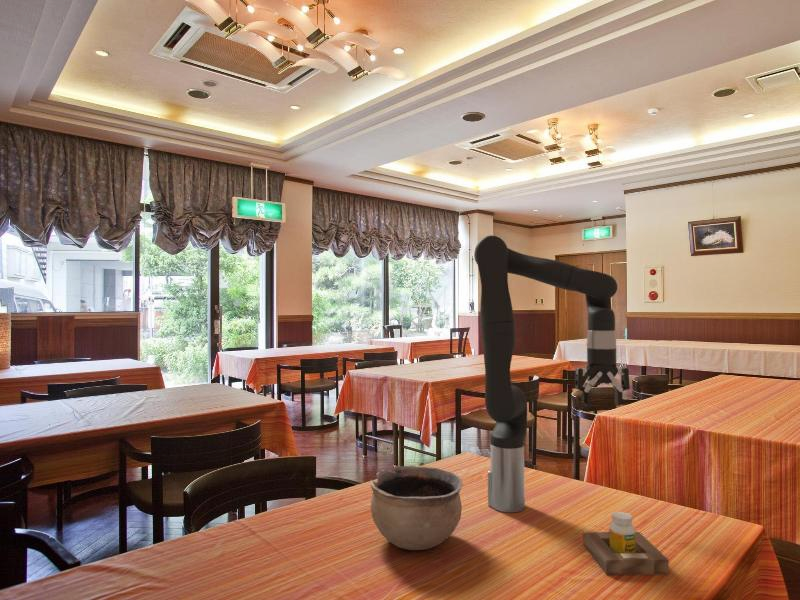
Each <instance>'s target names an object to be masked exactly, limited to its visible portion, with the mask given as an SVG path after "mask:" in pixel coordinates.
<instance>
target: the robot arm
mask: <svg viewBox="0 0 800 600" xmlns="http://www.w3.org/2000/svg"><path fill="white" fill-rule="evenodd" d="M473 258H474V260H475V263H476V264H477V268H478V272H479V280H480V287H481V288H480V289H481V291H480V293H481V295H480V306H479V309H480V313H479V314H480V329H481V339H482V340H481V341H482V348H483V359H484V376H485V378H484V379H485V380H484V384H485V386H484V404H485V405H484V406H485V410H486V412H487V414H488V416H489V418H491V420H493V421H494V422H495V426H494V428H493V430H492V431H491V433H490V438H489V439H490V448H489V449H490V469H489V470H488V472H487V506H489V507H491V508H493V509H494V510H497V511H498V512H503V513H518V512H521V511H523V510H525V508H526V507H525V506H526V505H525V504H526V503H525V502H526V497H525V495H526V494H525V493H526V492H525V491H526V489H525V486H526V485H525V439H526V436H527V435H526V434H527V427H528V402H527V397H526V395H525V393H524V391H523V389H521V388H520V387H518V386H516V385H512V381H511V380H512V379H511V364H512V359H513V354H514V351H515V346H516V345H515V344H516V329H515V327H516V326H515V318H514V311H513V310H514V309H513V305H512V299H511V294H510V293H511V292H510V287H509V281H508V279H509V277H508V276H509V275H508V274H510V275H511V274H512V275H517V276H519V277H520V276H521V277H524V278H527V279H531V280H534V281H537V282H539V283H540V282H541V283H543V284H547V285H549V286H552V287H555V288H559V289H562V290H566V291H571V292H578V293H580V294H584V296H585V303H586V308H587V336H586V360H587V361H586V363H587V366H586V368H584V367H583V368H582V367H576V368H575V375H574V388H575V390H578V391H580V392H581V402H582V404H584V405H583V406H586V407H589V406H590V392H589V391H590V390H591V389H592V387H595V386H594V385H601V384H602V385H603V384H606V385H611V386H612V387H613V389H614V391H613V392H614V405H615V406H617V407H620V406H621V404H622V405H623V392H624V391H628V390H630V388H631V387H630V373H629V371H630V370H629V368H628V367H625V366H621V367H617V335H616V317H615V312H614V311H613V308H612V297H614V296H615V294H616V293H617V291H618V283H617V281H616V279H615V278H614V277H613V276H611V275H610V274H607V273H604V272H600V271H596V270H591V269H585V268H581V267H578V266H576V265H574V264H573V265H572V264H569V263H566V262H562V261H560V260H555V259H550V258H545V257H540V256H532V255H528V254H525V253H521V252H518V251H515V250H514V249H511V248H508V245H507V244H506V242H505V241H504V240H503V239H502V238H501V237H499V236H497V235H492V234H491V235H487V236H486V235H485V236H484V237H483V238H481V239H480V240H479V241H478V243H477V244H476V246H475V249H474V257H473ZM586 374H587V376H588V377H587V378H586V380H585V382H584V383H583V380H584V379H583V378H584V377H585V375H586ZM617 375H619V376H620V383H621V384H620V383H619V381H618V380H617V378H616V376H617Z"/></svg>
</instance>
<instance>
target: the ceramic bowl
mask: <svg viewBox="0 0 800 600" xmlns="http://www.w3.org/2000/svg"><path fill="white" fill-rule="evenodd" d="M370 487H371V489H372V490H371V491H372V495H371V497H370V498H371V500H370V513H371V517H372V519H373V522H374V524H375V526H376V527H377V530H378V531H379V532H380V534H381V535H382V536H383V537H384V538H385V539H386V540H387V541H388V542H389V543H391V544H392V545H393V546H396V548H397V547H398V548H399V549H403V550H408V551H423V550H428V549H431V548H434V547H437V546H439V545H440V544H442V543H443V542H444V541H445V540H447V539H448V538H449V537H450V536H451V535H452V534H453V533H454V532H455V530H456V529H457V527H458V524H459V523H460V521H461V517H462V507H463V506H462V500H461V496H460V491H461V490H462V487H463V480H462V479H461V477H460V476H459V475H457V474H456V473H454V472H452V471H447V470H444V469H441V468H438V467H431V466H418V465H417V466H416V465H401V466H395V467H394V468H393V471H392V470H390V469H382V470H381V471H379V472H376V481H374V480H373V479H371V480H370Z"/></svg>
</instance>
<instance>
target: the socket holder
mask: <svg viewBox="0 0 800 600" xmlns="http://www.w3.org/2000/svg"><path fill="white" fill-rule="evenodd" d="M582 536H583V540H582V541H583V542H582V543H583V544H582V545H583V546H584V549H586V551H587V552H588V553H589V555H590V556H591V557H592V558H593V560H594V561H595V562H596V563H598V564H599V565H598V564H597V565H598V566H599V567H600V569H601V568H602V569H601V570H602V572H604V574H605V575H606V576H614V575H615V576H617V575H618V576H619V575H624V576H627V575H629V576H630V575H635V576H636V575H669V573H670V572H669V568H670V567H669V565H670V563H669V559H668V558H667V557H666V555H664V554H663V553H662V552H661V551H660V550H659V549H658V548H657V547H656V546H655V545H654V544H652V542H650V541H649V540H648V539H647V538H646V536H644V535H643V534H642V533H641V532H639V531H636V553H614V552H613V551H612V550H611V549H610V536H609V531H608V532H607V531H606V532H605V531H603V532H602V531H600V532H598V531H597V532H595V531H594V532H589V531H588V532H583V535H582Z"/></svg>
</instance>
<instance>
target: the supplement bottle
mask: <svg viewBox="0 0 800 600" xmlns="http://www.w3.org/2000/svg"><path fill="white" fill-rule="evenodd" d="M611 521H612V522H610V523H609V526H608V528H609V529H608V532H609V536H610V549H611V550H612V551H613V552H614V553H636V532H637V530H636V528H635V526H634V525H633V516H632V514H629V513H627V512H623V511H616V512H613V513H612V515H611Z"/></svg>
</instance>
